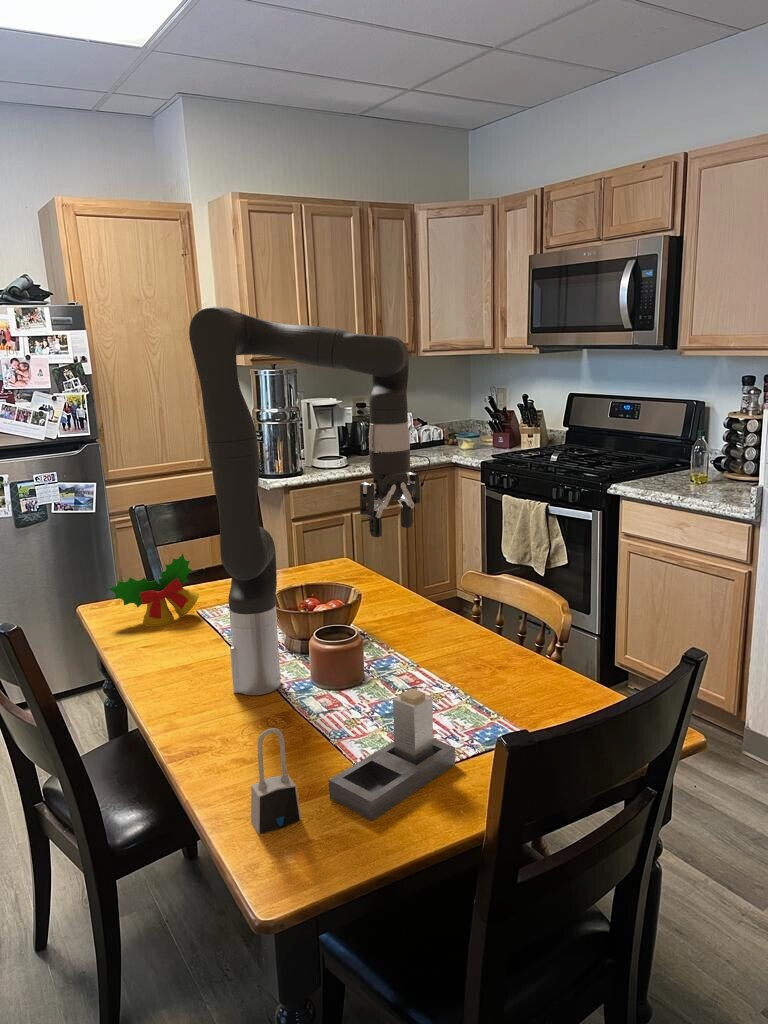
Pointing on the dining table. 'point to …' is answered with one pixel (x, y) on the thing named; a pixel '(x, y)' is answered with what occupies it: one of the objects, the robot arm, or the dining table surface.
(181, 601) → the ornament
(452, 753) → the cinder block
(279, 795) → the padlock
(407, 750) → the grey rectangular block
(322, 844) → the dining table surface
